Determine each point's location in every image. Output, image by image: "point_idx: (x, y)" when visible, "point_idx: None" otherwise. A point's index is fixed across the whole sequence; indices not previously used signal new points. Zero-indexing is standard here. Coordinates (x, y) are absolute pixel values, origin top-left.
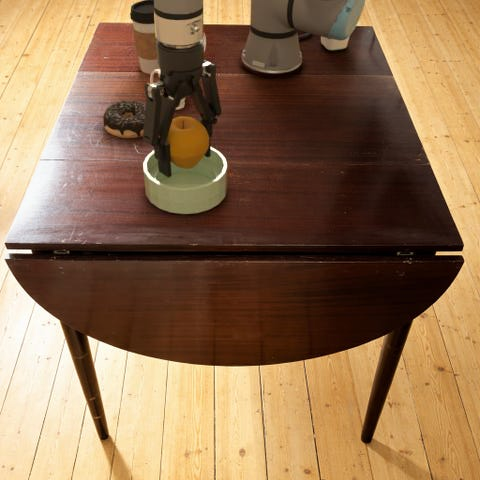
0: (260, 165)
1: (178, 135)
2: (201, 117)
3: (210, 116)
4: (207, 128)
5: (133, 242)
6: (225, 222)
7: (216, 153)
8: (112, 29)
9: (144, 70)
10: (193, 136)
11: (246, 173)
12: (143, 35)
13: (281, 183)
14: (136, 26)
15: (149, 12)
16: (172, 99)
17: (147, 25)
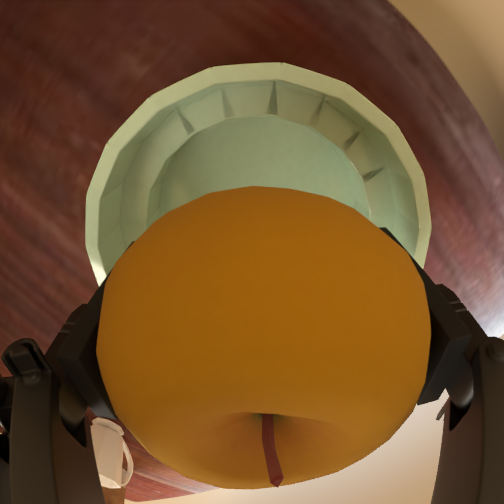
0: (19, 189)
1: (410, 378)
2: (86, 419)
3: (30, 400)
4: (83, 344)
5: (490, 142)
6: (263, 9)
7: (100, 248)
8: (130, 498)
9: (124, 471)
10: (311, 312)
11: (58, 178)
12: None
13: (18, 90)
14: None
15: None
16: (112, 439)
17: None
